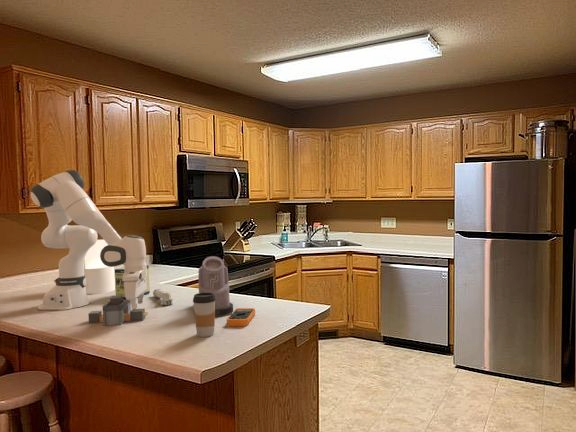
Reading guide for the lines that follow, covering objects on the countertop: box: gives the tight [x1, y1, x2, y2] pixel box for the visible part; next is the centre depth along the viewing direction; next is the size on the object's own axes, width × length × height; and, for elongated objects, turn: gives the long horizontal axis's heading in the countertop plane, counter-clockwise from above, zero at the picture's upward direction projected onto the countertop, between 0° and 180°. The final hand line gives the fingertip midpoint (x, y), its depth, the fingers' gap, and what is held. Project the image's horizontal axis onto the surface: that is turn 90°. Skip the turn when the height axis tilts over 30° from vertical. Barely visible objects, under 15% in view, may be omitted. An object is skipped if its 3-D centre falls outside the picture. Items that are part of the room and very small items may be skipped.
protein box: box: [114, 264, 151, 300], centre depth 235 cm, size 10×16×16 cm
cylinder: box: [84, 239, 116, 295], centre depth 252 cm, size 17×17×28 cm
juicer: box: [198, 255, 234, 319], centre depth 204 cm, size 30×16×24 cm, turn 13°
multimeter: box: [226, 307, 256, 328], centre depth 185 cm, size 9×18×3 cm, turn 173°
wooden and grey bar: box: [88, 308, 149, 324], centre depth 190 cm, size 24×4×4 cm, turn 94°
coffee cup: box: [192, 292, 216, 338], centre depth 167 cm, size 8×8×15 cm
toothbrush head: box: [152, 288, 174, 306], centre depth 224 cm, size 5×7×25 cm
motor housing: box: [102, 295, 132, 327], centre depth 190 cm, size 7×15×10 cm, turn 4°
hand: (137, 306), depth 190 cm, fingers open, 8 cm apart
